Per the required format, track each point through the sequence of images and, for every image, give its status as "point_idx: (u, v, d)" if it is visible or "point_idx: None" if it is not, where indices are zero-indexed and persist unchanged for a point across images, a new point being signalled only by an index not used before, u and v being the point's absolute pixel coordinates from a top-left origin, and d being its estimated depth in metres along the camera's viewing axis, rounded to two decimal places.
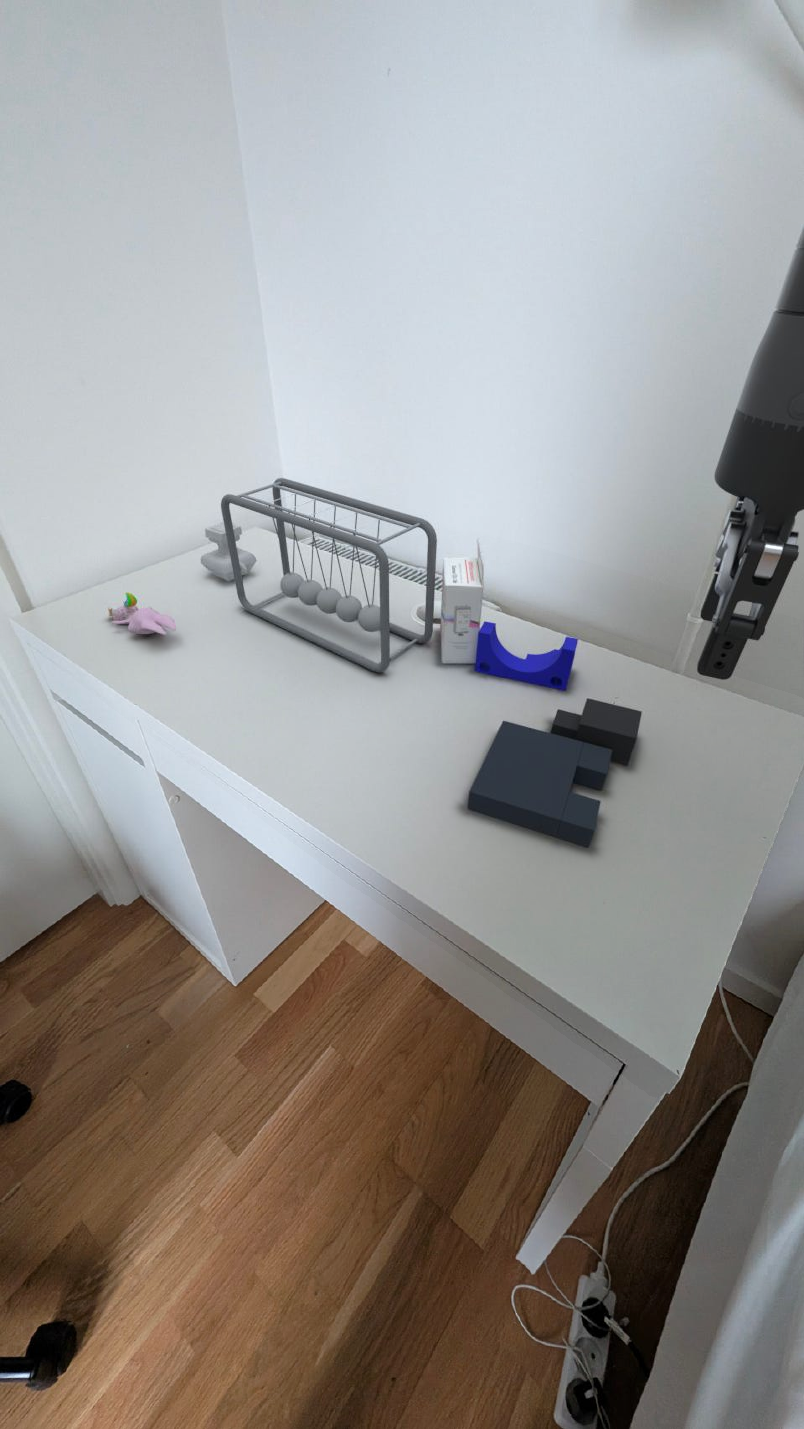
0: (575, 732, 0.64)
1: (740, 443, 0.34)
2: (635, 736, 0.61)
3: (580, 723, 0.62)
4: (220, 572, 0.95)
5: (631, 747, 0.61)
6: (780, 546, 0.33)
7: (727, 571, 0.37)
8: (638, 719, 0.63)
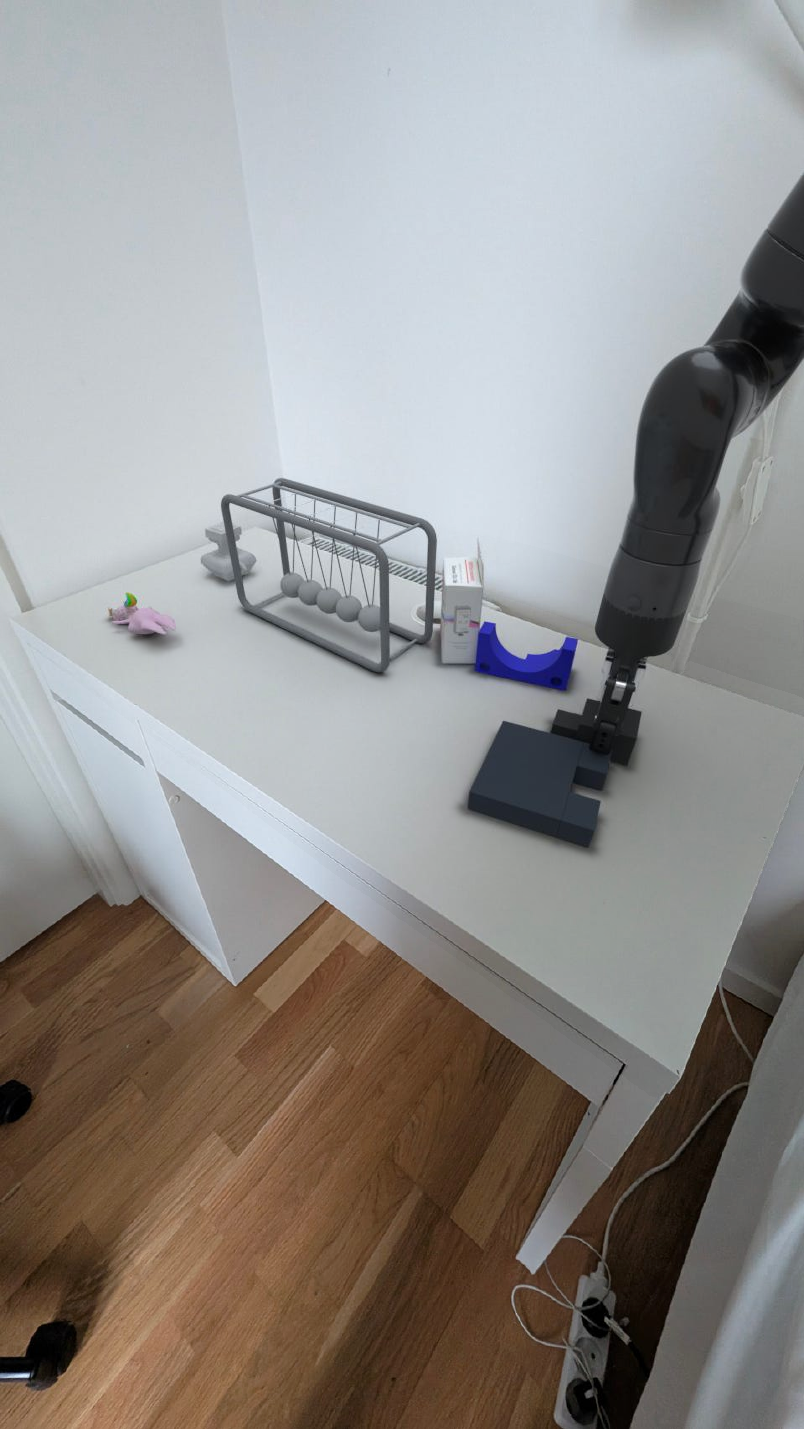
0: (575, 732, 0.64)
1: (604, 615, 0.55)
2: (635, 736, 0.61)
3: (580, 723, 0.62)
4: (220, 572, 0.95)
5: (631, 747, 0.61)
6: (624, 683, 0.53)
7: (603, 688, 0.58)
8: (638, 719, 0.63)
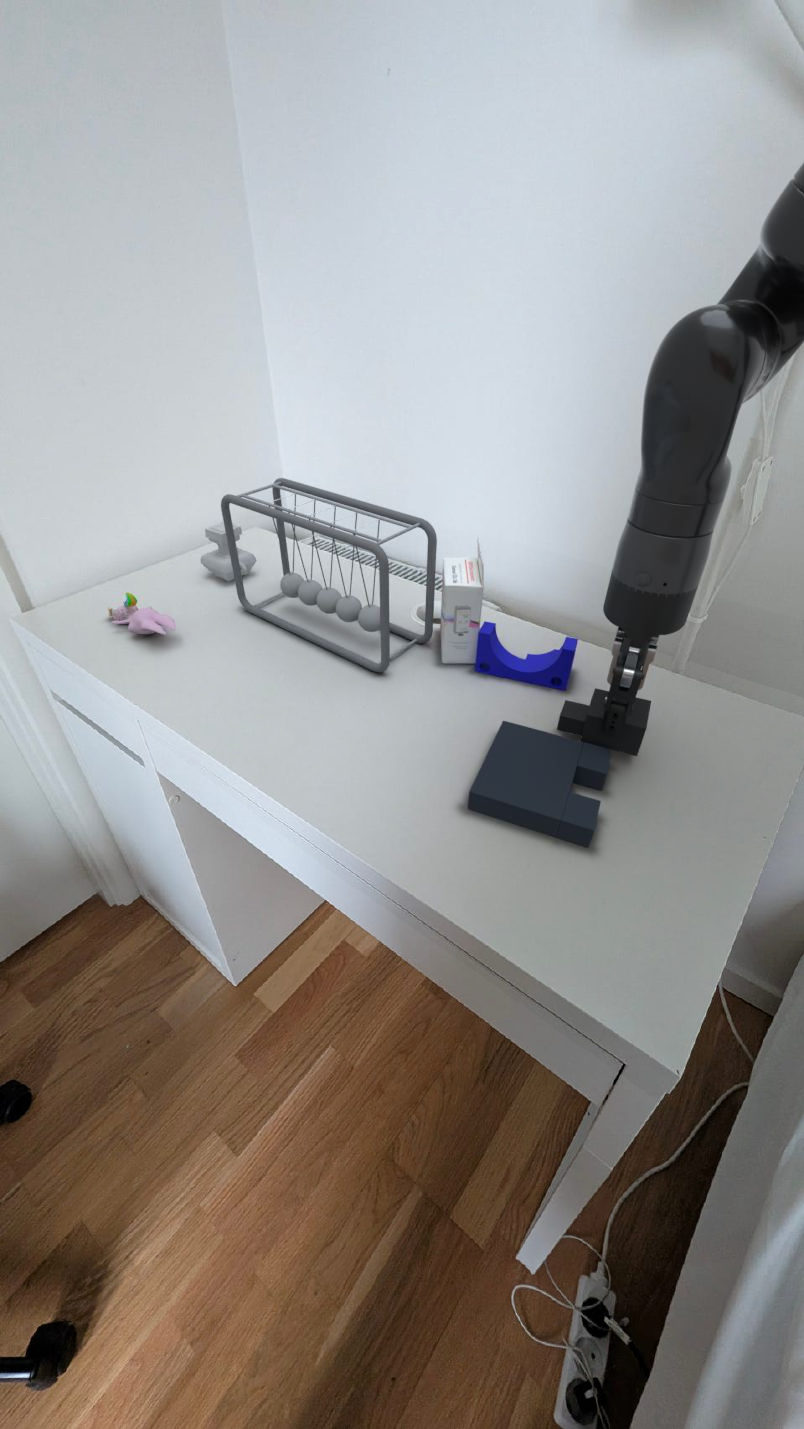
0: (583, 723, 0.63)
1: (613, 594, 0.53)
2: (644, 726, 0.59)
3: (588, 714, 0.61)
4: (220, 572, 0.95)
5: (640, 737, 0.60)
6: (632, 673, 0.52)
7: (612, 671, 0.57)
8: (647, 709, 0.62)
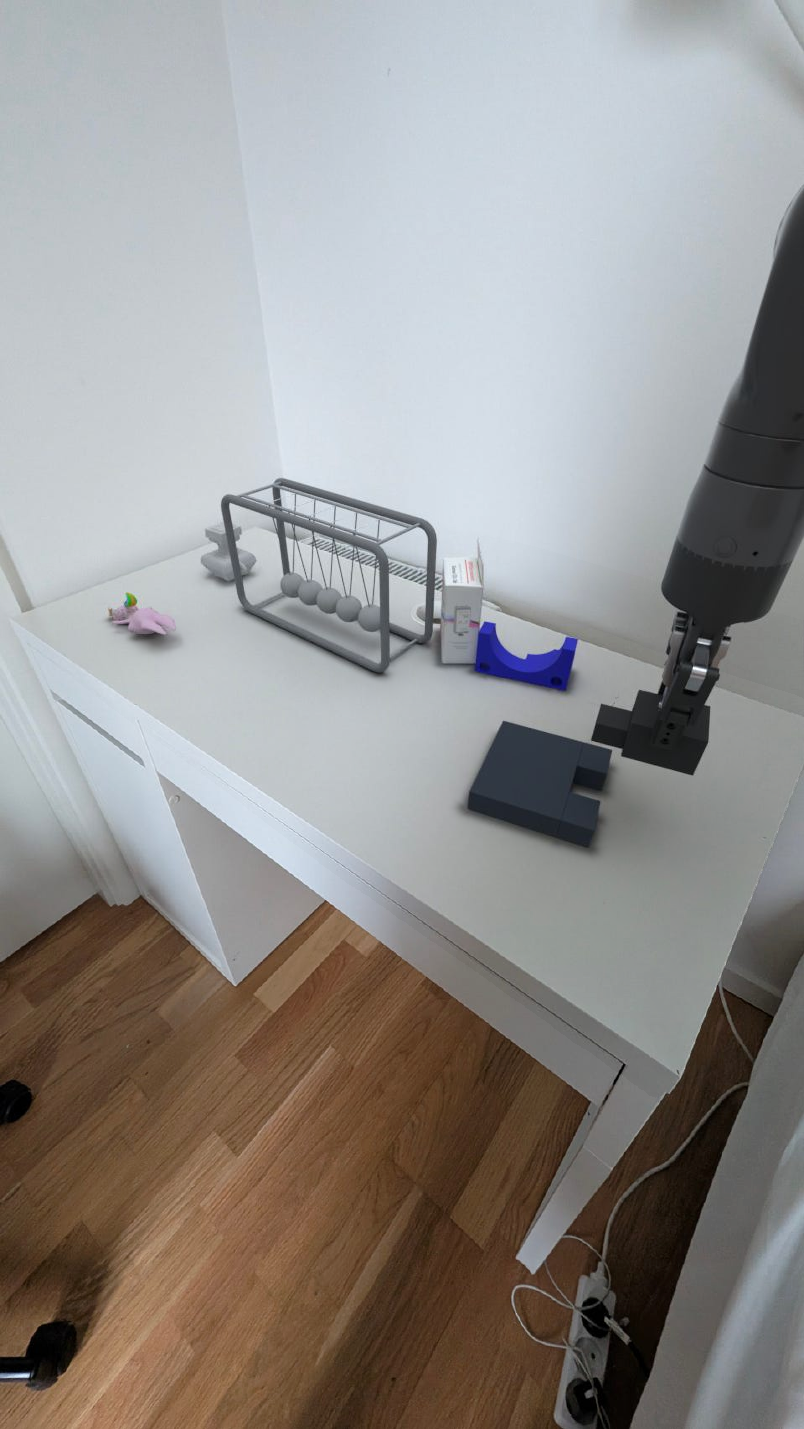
0: (625, 733, 0.51)
1: (679, 568, 0.40)
2: (706, 739, 0.47)
3: (633, 722, 0.49)
4: (220, 572, 0.95)
5: (700, 753, 0.48)
6: (704, 672, 0.39)
7: (670, 669, 0.44)
8: (707, 716, 0.49)
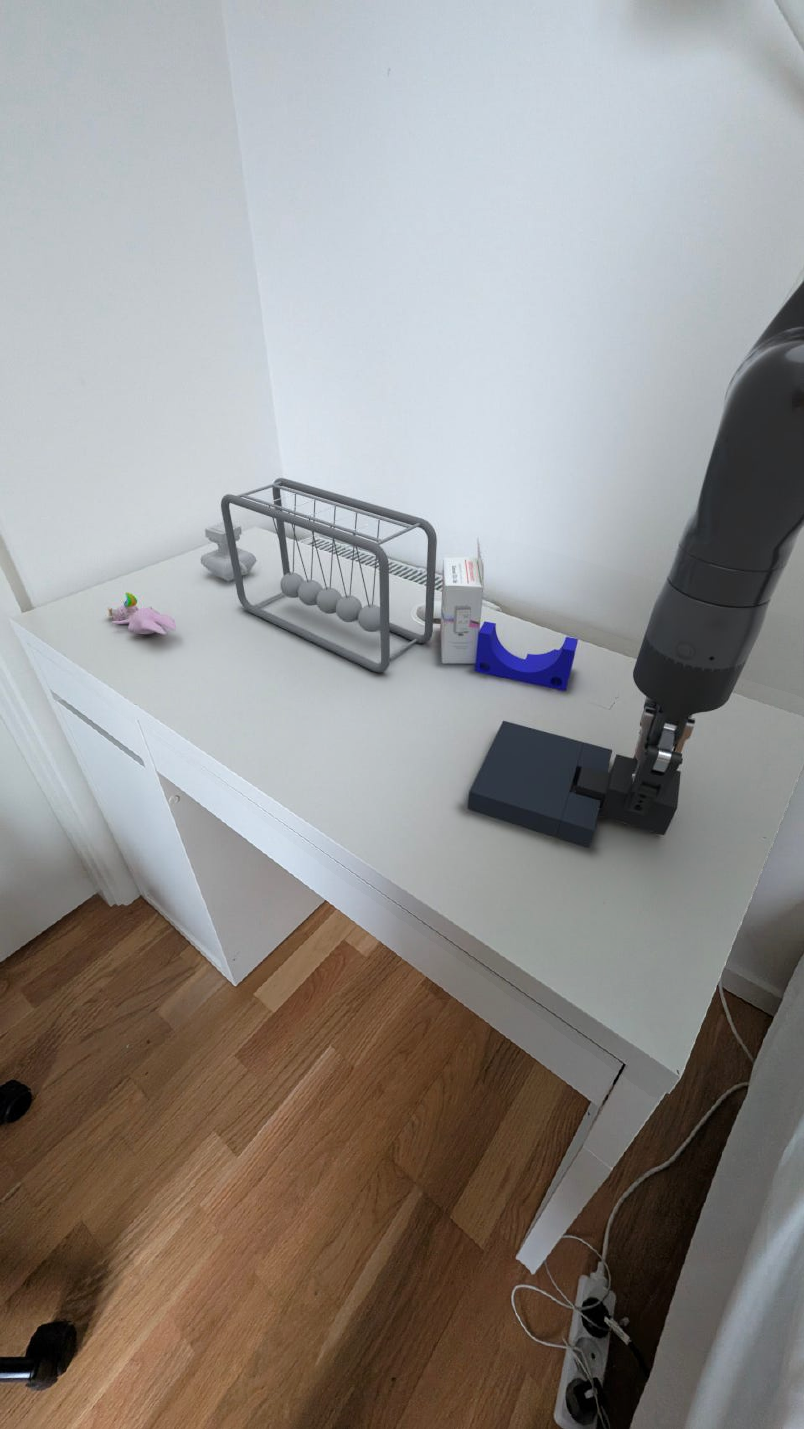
0: (603, 795, 0.56)
1: (647, 662, 0.45)
2: (675, 805, 0.52)
3: (610, 788, 0.54)
4: (220, 572, 0.95)
5: (670, 817, 0.53)
6: (668, 757, 0.44)
7: (641, 746, 0.49)
8: (677, 782, 0.54)
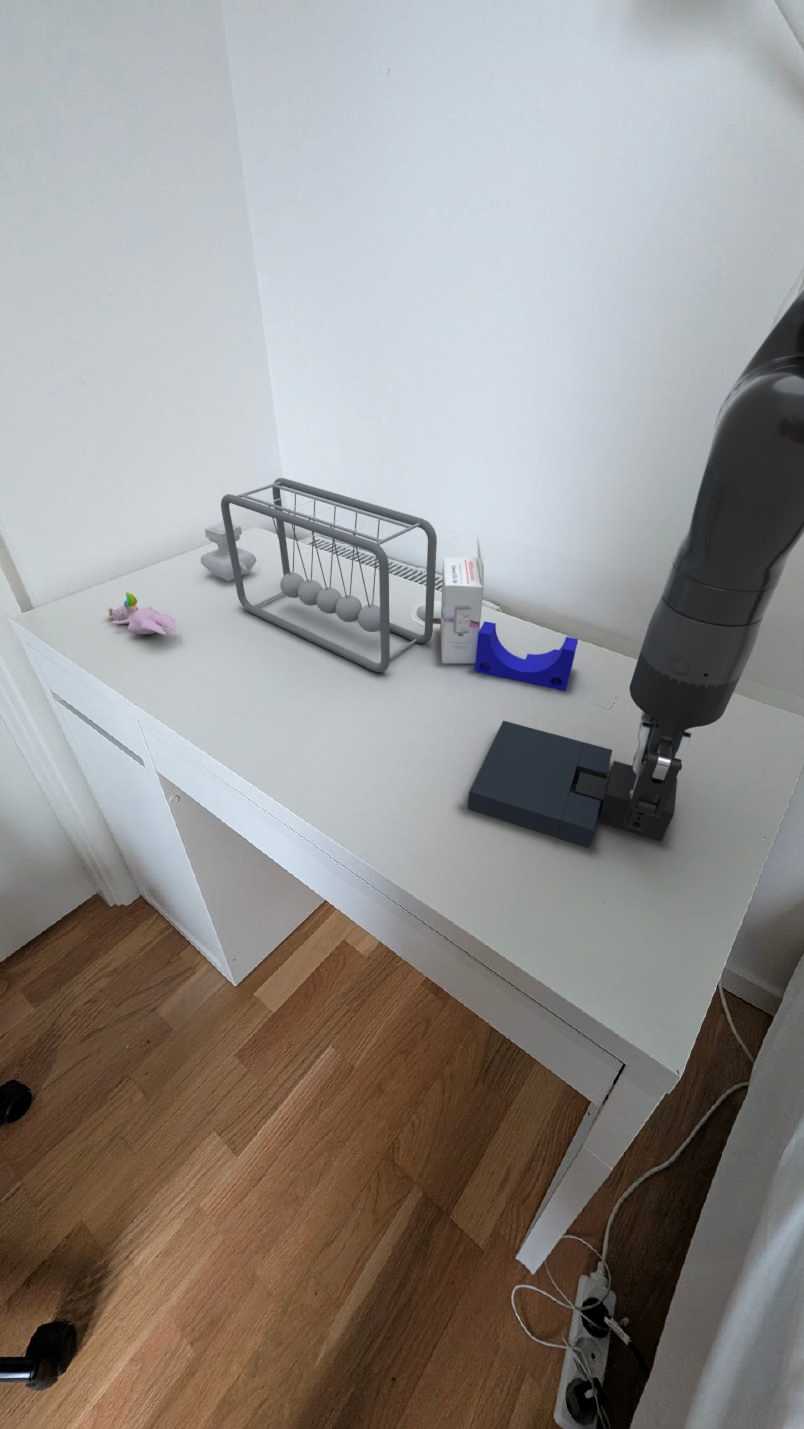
0: (601, 801, 0.56)
1: (643, 678, 0.46)
2: (672, 811, 0.53)
3: (608, 793, 0.54)
4: (220, 572, 0.95)
5: (667, 822, 0.53)
6: (668, 761, 0.45)
7: (639, 759, 0.49)
8: (674, 788, 0.55)
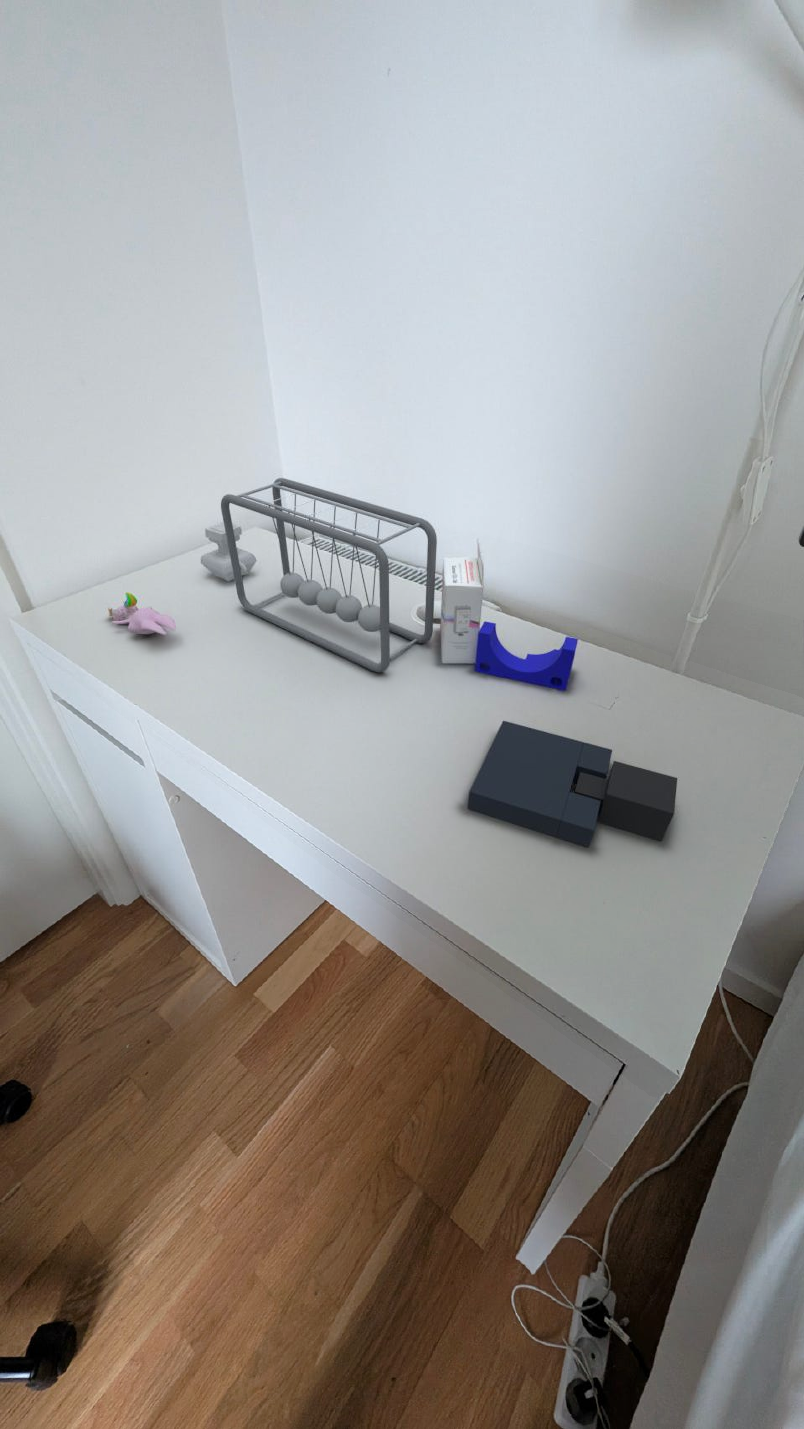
0: (601, 801, 0.56)
1: None
2: (672, 811, 0.53)
3: (608, 793, 0.54)
4: (220, 572, 0.95)
5: (667, 822, 0.53)
6: None
7: None
8: (674, 788, 0.55)
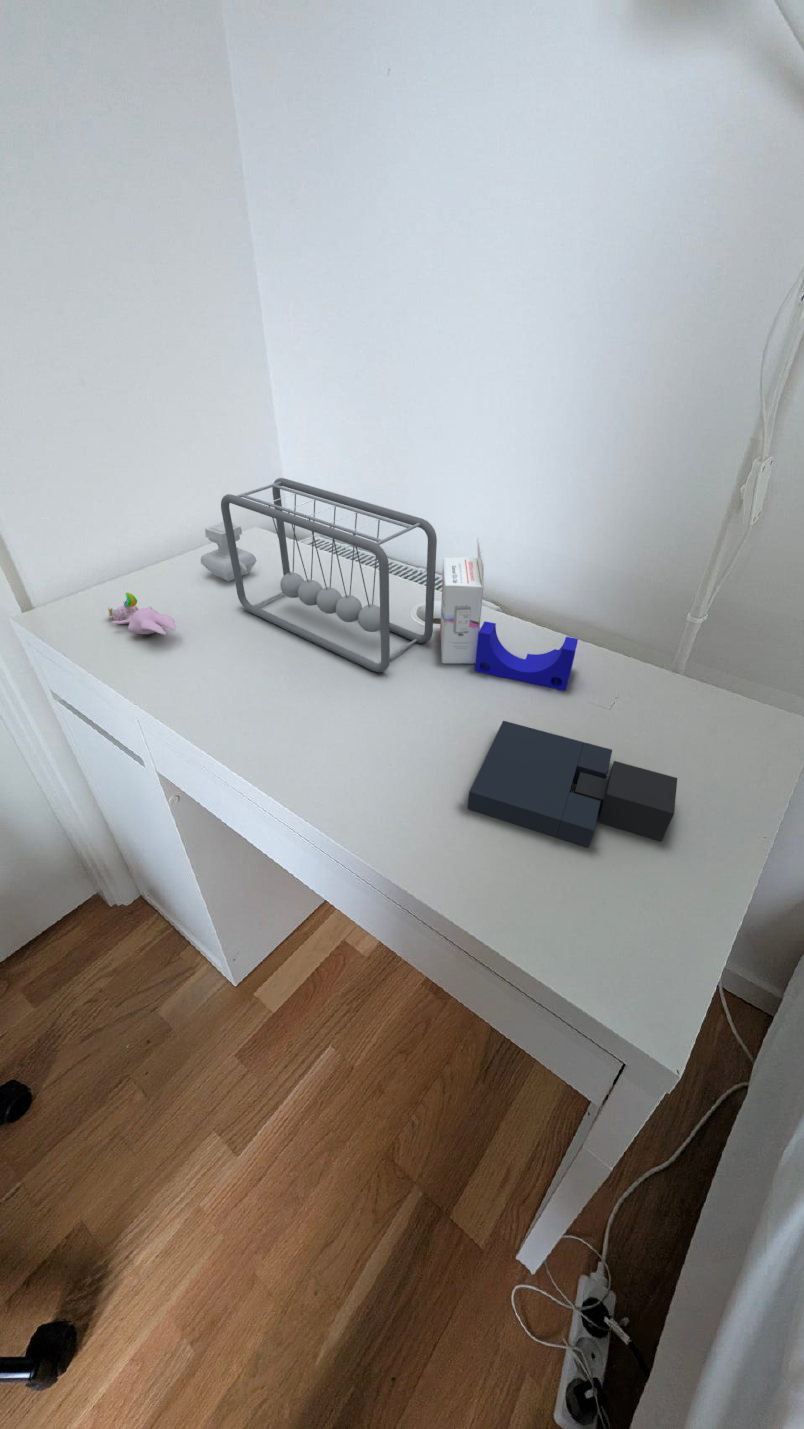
0: (601, 801, 0.56)
1: None
2: (672, 811, 0.53)
3: (608, 793, 0.54)
4: (220, 572, 0.95)
5: (667, 822, 0.53)
6: None
7: None
8: (674, 788, 0.55)
